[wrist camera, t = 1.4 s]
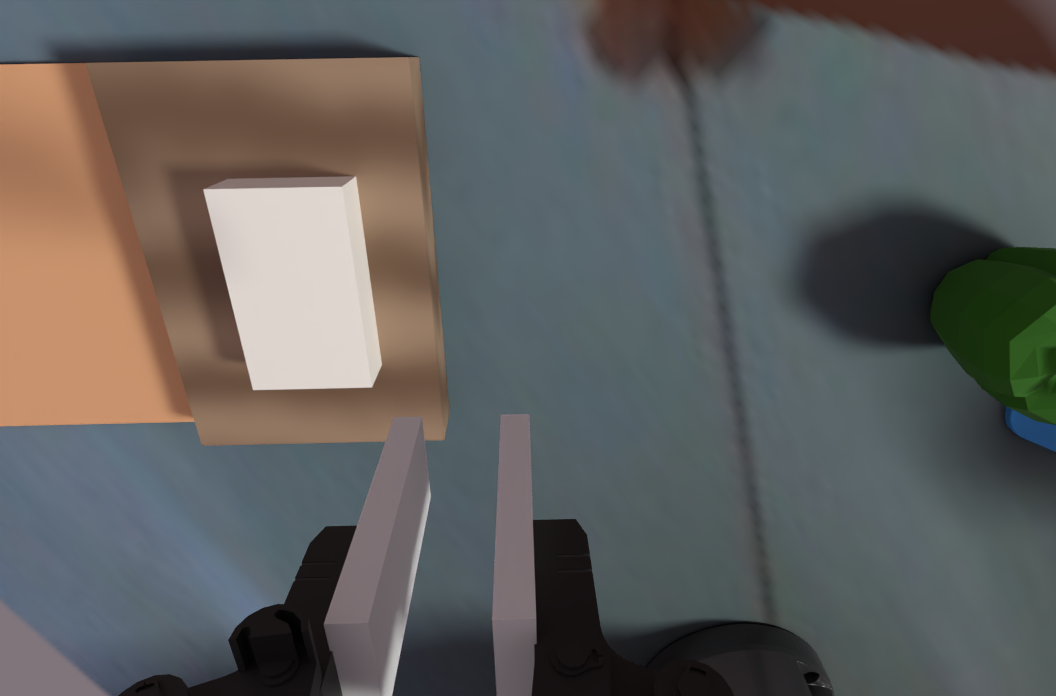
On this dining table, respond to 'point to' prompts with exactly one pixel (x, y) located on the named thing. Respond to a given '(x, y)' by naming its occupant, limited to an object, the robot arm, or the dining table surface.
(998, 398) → the bell pepper
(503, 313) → the dining table surface
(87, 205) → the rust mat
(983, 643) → the dining table surface
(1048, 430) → the handheld gaming device
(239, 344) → the board
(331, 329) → the cream block
